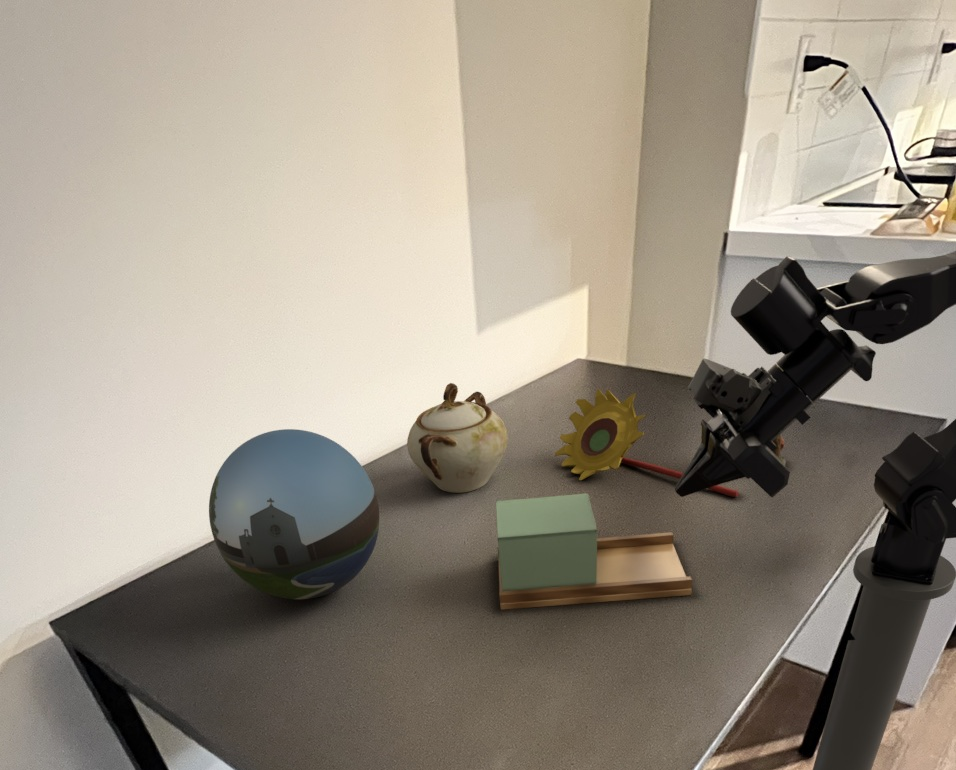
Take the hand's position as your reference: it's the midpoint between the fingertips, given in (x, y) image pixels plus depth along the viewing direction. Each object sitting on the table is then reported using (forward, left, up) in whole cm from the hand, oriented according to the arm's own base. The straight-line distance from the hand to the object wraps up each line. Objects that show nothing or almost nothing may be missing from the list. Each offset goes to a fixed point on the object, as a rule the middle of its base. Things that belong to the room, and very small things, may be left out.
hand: (677, 493), depth 84 cm
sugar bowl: (+38, -13, -10) cm, 41 cm away
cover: (+13, +7, -9) cm, 18 cm away
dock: (+9, +5, -10) cm, 14 cm away
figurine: (-3, -31, -10) cm, 33 cm away
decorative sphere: (+40, +20, -10) cm, 46 cm away
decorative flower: (+13, -23, -10) cm, 28 cm away
